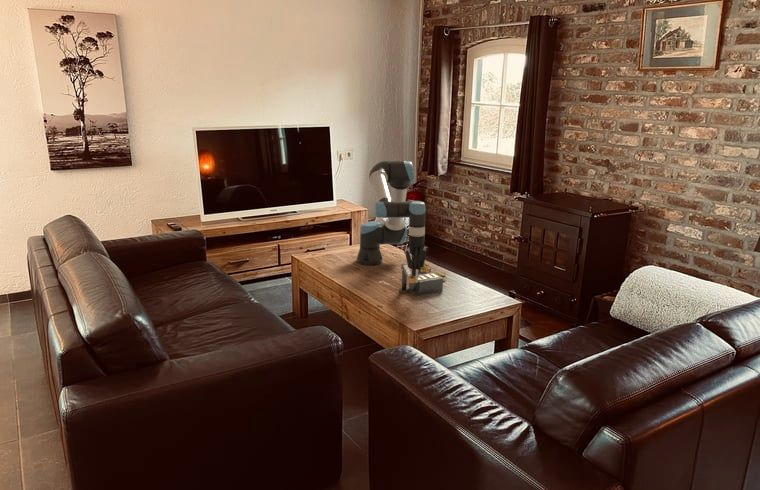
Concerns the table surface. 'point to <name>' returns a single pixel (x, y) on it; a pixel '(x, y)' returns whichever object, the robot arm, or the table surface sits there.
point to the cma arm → (408, 273)
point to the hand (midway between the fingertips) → (415, 281)
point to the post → (404, 283)
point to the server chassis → (427, 284)
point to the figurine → (425, 270)
